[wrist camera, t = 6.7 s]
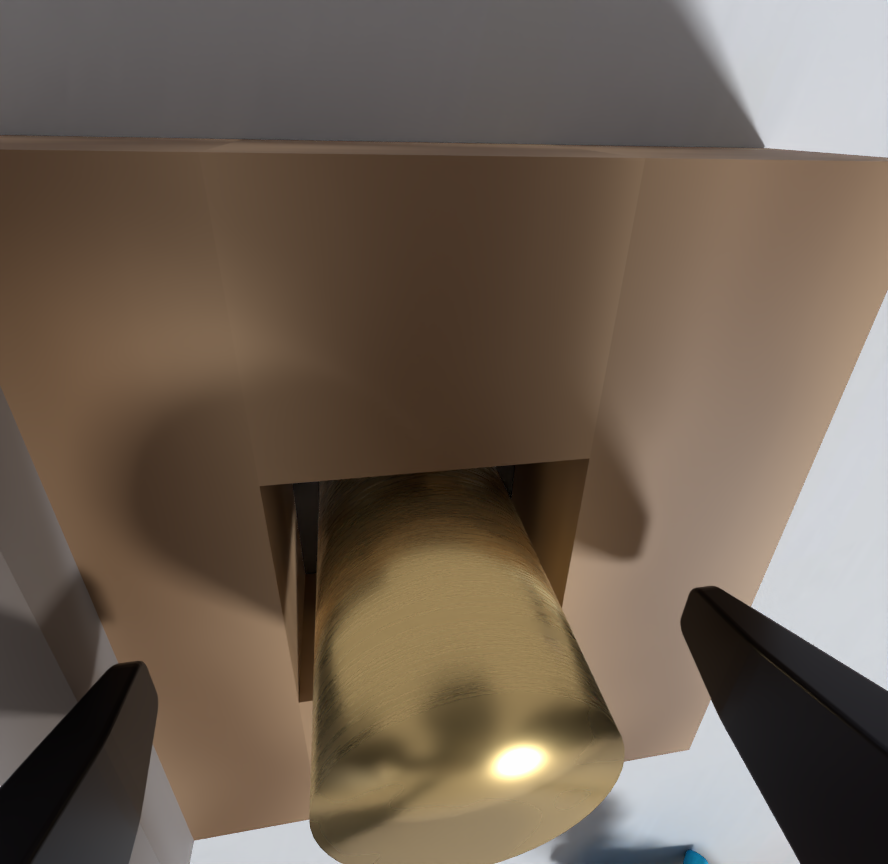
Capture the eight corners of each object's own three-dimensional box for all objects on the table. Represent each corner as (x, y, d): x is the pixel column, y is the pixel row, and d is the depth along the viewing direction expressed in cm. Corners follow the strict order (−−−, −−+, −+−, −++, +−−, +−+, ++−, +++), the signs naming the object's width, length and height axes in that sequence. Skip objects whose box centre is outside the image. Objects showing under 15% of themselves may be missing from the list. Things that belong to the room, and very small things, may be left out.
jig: (159, 708, 15) (98, 922, 11) (-67, 134, 8) (-453, 153, 4) (627, 641, 17) (715, 797, 13) (767, 148, 10) (1039, 170, 6)
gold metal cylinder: (327, 552, 13) (324, 900, 8) (311, 408, 11) (289, 727, 6) (484, 535, 14) (596, 843, 8) (495, 397, 12) (654, 671, 6)
